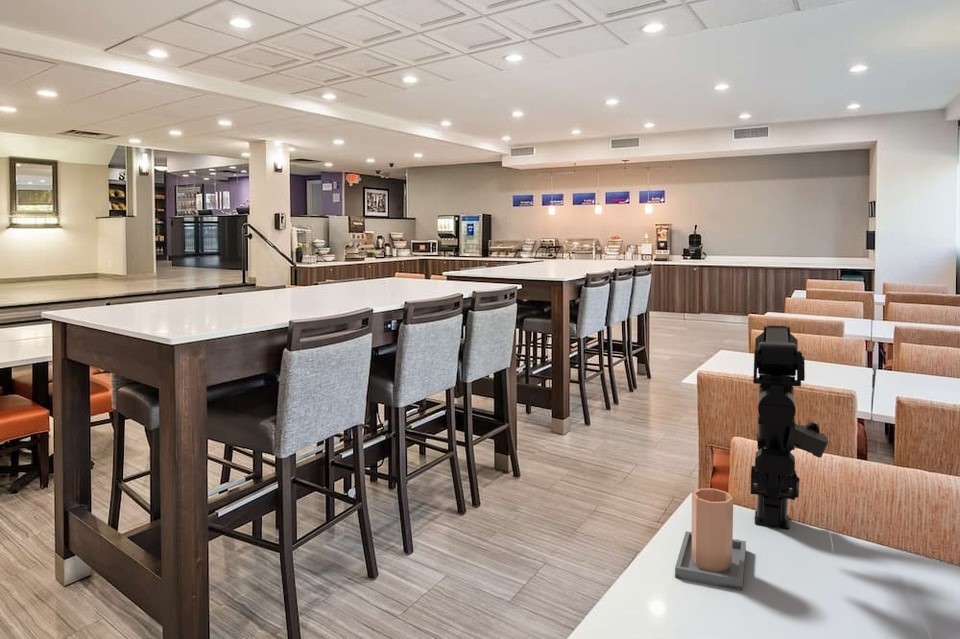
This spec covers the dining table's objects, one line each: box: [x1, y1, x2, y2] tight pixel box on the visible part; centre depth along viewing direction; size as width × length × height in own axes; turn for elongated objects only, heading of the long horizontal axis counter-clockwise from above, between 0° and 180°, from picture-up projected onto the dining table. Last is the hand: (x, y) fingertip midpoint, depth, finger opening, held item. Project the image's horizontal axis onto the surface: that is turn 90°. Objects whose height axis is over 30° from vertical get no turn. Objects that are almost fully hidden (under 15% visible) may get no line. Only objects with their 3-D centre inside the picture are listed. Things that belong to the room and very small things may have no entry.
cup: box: [691, 488, 734, 573], centre depth 110 cm, size 6×6×13 cm
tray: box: [674, 531, 747, 591], centre depth 112 cm, size 15×11×2 cm
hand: (773, 492), depth 114 cm, fingers open, 9 cm apart
